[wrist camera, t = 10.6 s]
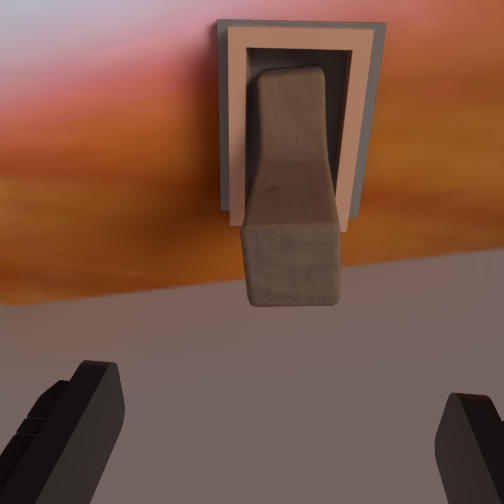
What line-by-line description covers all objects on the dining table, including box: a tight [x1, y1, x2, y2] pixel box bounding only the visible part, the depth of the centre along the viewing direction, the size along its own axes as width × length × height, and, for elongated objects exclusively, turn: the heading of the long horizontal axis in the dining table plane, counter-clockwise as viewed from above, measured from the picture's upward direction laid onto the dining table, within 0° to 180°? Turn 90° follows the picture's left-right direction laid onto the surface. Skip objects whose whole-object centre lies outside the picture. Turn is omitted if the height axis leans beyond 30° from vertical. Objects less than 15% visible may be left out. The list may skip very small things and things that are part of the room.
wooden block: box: [240, 65, 341, 307], centre depth 27 cm, size 9×4×18 cm, turn 5°
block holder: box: [217, 19, 387, 232], centre depth 34 cm, size 12×15×4 cm
